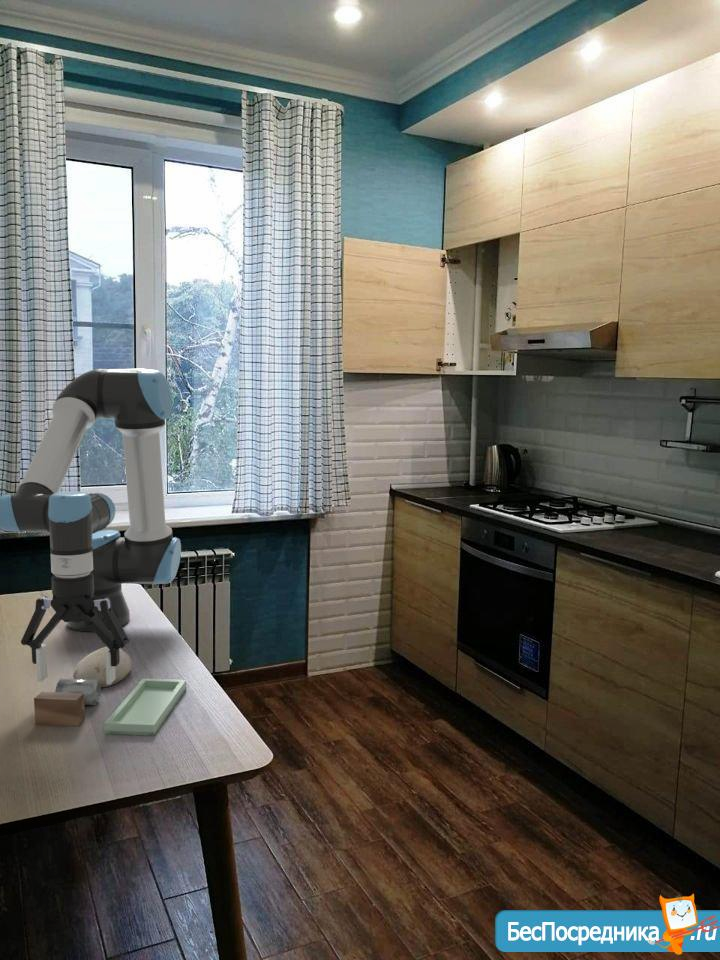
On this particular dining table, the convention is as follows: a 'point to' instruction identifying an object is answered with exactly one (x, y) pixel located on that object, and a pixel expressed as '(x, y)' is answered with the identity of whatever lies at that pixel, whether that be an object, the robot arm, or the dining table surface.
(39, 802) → the dining table surface
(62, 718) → the block
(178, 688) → the tray
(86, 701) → the roller
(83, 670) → the stone
